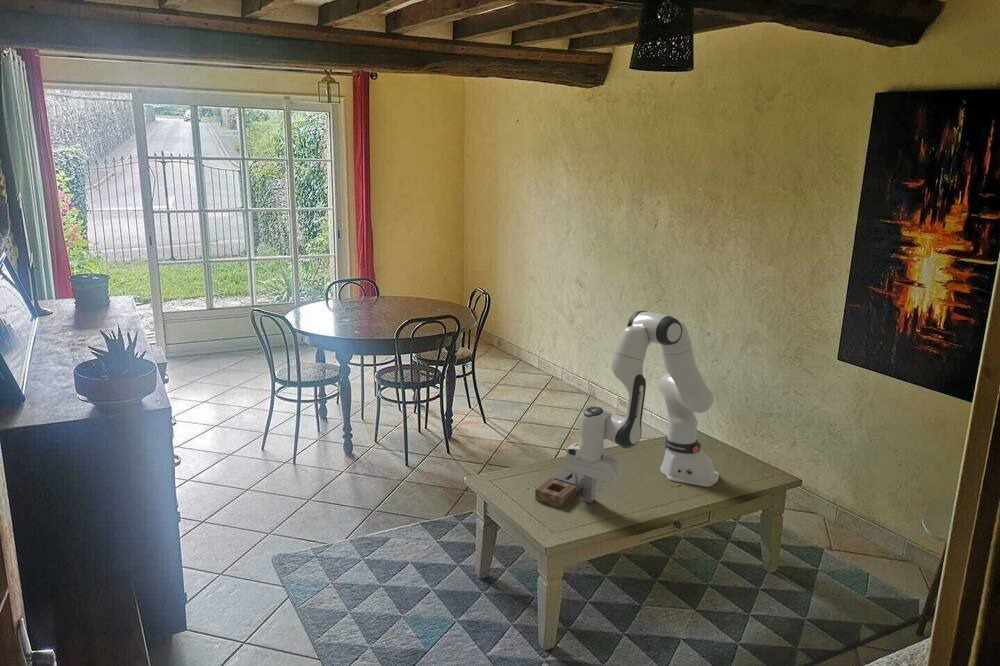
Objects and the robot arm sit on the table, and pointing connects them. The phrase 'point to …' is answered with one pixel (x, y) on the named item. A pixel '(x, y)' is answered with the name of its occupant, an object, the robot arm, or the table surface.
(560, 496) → the walnut bore block
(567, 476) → the grey slot block
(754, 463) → the table surface
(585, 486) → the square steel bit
